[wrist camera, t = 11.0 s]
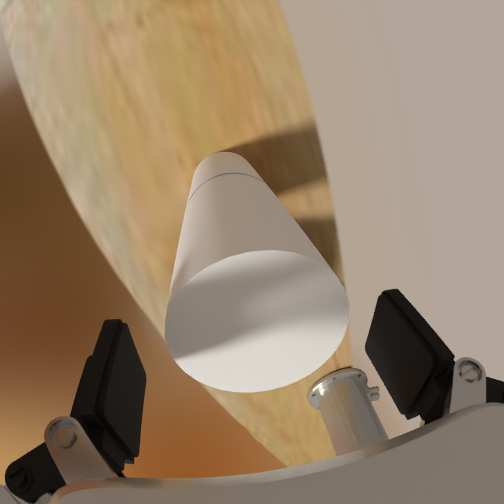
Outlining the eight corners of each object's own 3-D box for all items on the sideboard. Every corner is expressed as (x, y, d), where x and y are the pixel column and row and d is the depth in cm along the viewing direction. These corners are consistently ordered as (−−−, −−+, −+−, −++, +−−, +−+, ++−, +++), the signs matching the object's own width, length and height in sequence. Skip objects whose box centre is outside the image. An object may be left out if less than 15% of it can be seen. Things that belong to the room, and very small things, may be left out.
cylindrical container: (209, 141, 31) (211, 214, 9) (266, 168, 33) (382, 289, 11) (182, 197, 33) (143, 369, 11) (238, 221, 35) (289, 401, 13)
